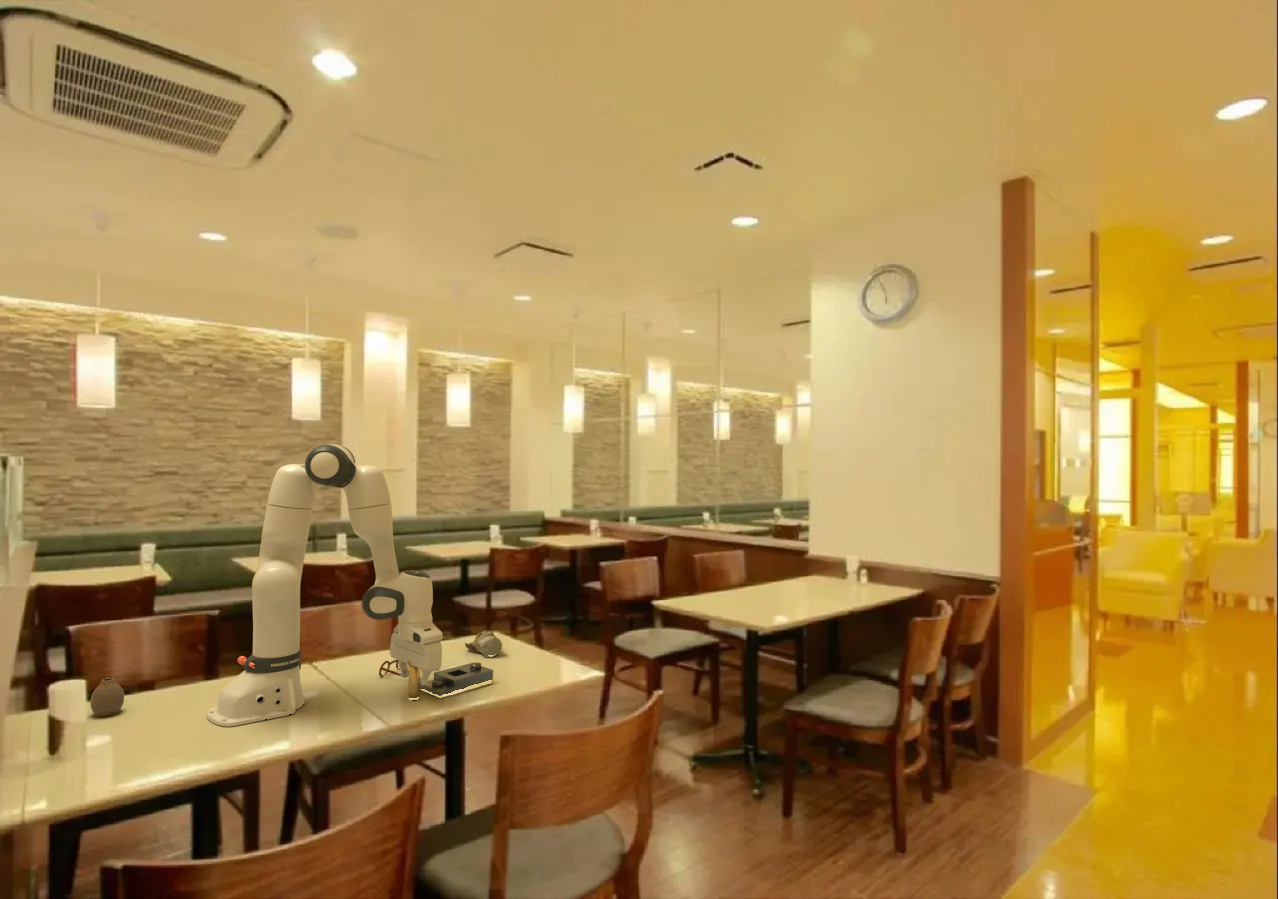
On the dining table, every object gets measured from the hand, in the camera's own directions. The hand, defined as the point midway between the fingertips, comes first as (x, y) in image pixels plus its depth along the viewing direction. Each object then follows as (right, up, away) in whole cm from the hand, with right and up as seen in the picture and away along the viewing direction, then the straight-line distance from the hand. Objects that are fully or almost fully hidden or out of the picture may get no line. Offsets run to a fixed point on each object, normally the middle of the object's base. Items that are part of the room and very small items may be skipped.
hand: (414, 680), depth 198 cm
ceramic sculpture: (+10, -6, +45) cm, 46 cm away
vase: (-73, -4, -16) cm, 74 cm away
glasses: (-8, -6, +21) cm, 24 cm away
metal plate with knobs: (+9, -5, +11) cm, 15 cm away
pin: (0, -5, 0) cm, 5 cm away
